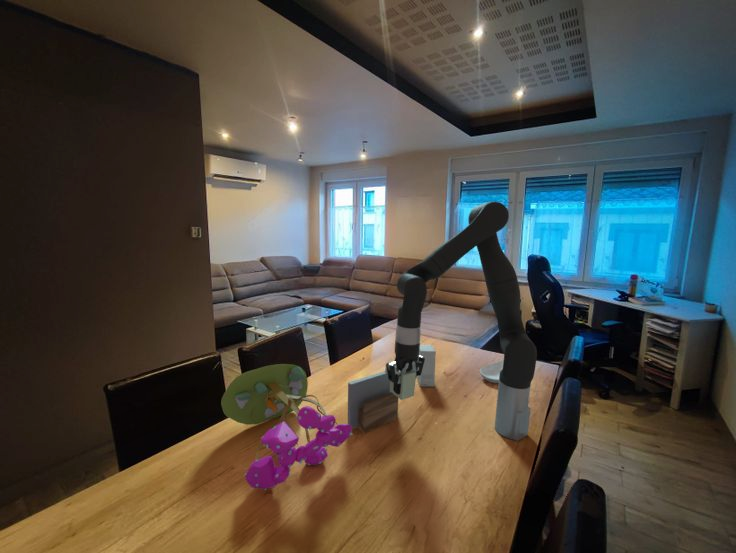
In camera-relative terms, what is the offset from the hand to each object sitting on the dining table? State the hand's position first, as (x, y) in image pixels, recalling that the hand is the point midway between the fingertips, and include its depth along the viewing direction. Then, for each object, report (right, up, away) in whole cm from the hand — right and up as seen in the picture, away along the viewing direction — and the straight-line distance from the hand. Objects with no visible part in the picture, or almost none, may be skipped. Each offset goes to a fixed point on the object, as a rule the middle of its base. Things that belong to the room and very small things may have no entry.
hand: (404, 390), depth 100 cm
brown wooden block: (-8, -14, +8) cm, 18 cm away
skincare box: (+13, -10, +37) cm, 41 cm away
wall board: (-9, -13, +10) cm, 19 cm away
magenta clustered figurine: (-35, -16, -6) cm, 39 cm away
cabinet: (-1, -1, +2) cm, 3 cm away
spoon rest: (+49, -10, +44) cm, 66 cm away
